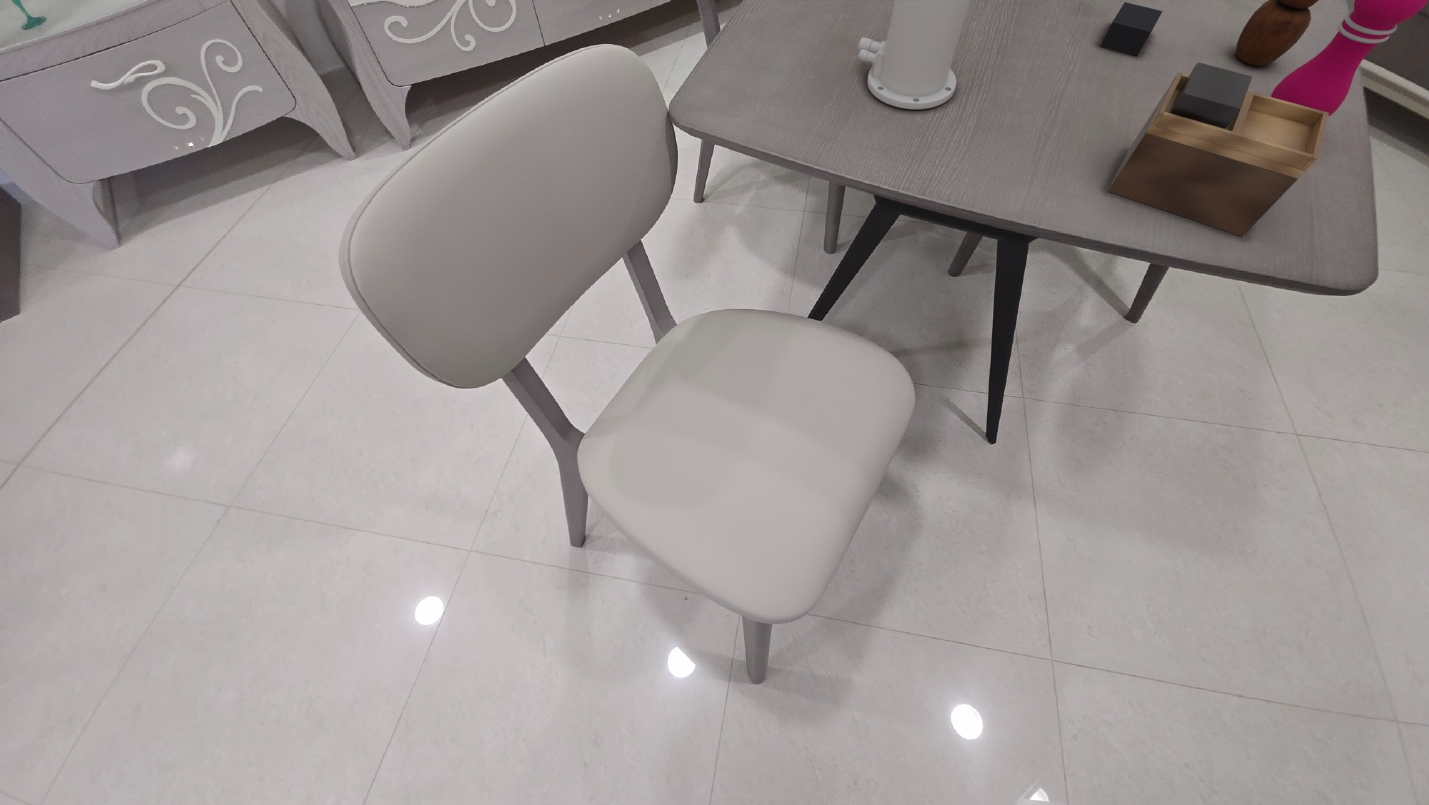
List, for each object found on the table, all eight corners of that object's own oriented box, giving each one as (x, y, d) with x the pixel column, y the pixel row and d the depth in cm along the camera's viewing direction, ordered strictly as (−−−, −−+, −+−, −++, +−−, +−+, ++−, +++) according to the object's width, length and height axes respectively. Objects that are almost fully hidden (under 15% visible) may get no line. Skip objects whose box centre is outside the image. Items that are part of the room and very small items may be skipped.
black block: (1099, 46, 91) (1112, 21, 88) (1112, 25, 94) (1124, 1, 91) (1137, 56, 89) (1151, 31, 86) (1148, 35, 92) (1162, 10, 89)
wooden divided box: (1107, 191, 74) (1170, 94, 63) (1127, 151, 77) (1189, 54, 67) (1242, 237, 69) (1335, 140, 58) (1256, 192, 73) (1345, 94, 62)
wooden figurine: (1218, 52, 89) (1299, -67, 76) (1247, 43, 90) (1333, -76, 77) (1255, 75, 85) (1346, -46, 73) (1285, 66, 86) (1381, -55, 74)
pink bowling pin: (1257, 106, 82) (1395, -68, 65) (1316, 124, 79) (1476, -51, 62) (1242, 131, 79) (1382, -43, 62) (1303, 152, 76) (1466, -24, 59)
